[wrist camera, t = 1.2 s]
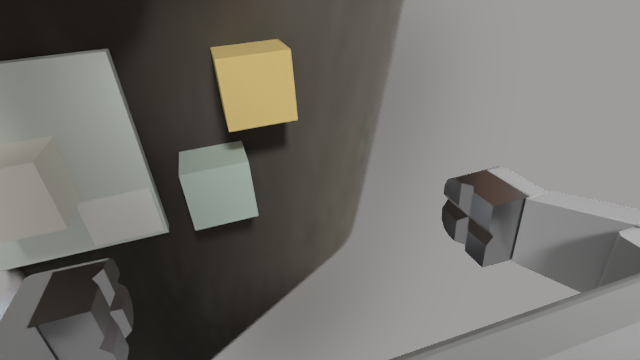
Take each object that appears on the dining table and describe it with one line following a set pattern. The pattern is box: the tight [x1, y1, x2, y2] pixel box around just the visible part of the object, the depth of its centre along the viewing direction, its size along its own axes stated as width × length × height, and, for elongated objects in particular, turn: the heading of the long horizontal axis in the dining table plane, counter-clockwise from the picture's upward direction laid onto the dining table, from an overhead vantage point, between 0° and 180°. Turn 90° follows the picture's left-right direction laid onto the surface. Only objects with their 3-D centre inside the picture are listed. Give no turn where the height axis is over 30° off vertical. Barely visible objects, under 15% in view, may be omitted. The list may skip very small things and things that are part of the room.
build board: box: [0, 48, 169, 271], centre depth 30 cm, size 18×18×6 cm
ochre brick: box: [210, 39, 298, 132], centre depth 33 cm, size 6×6×5 cm
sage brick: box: [179, 141, 259, 231], centre depth 36 cm, size 6×6×5 cm
